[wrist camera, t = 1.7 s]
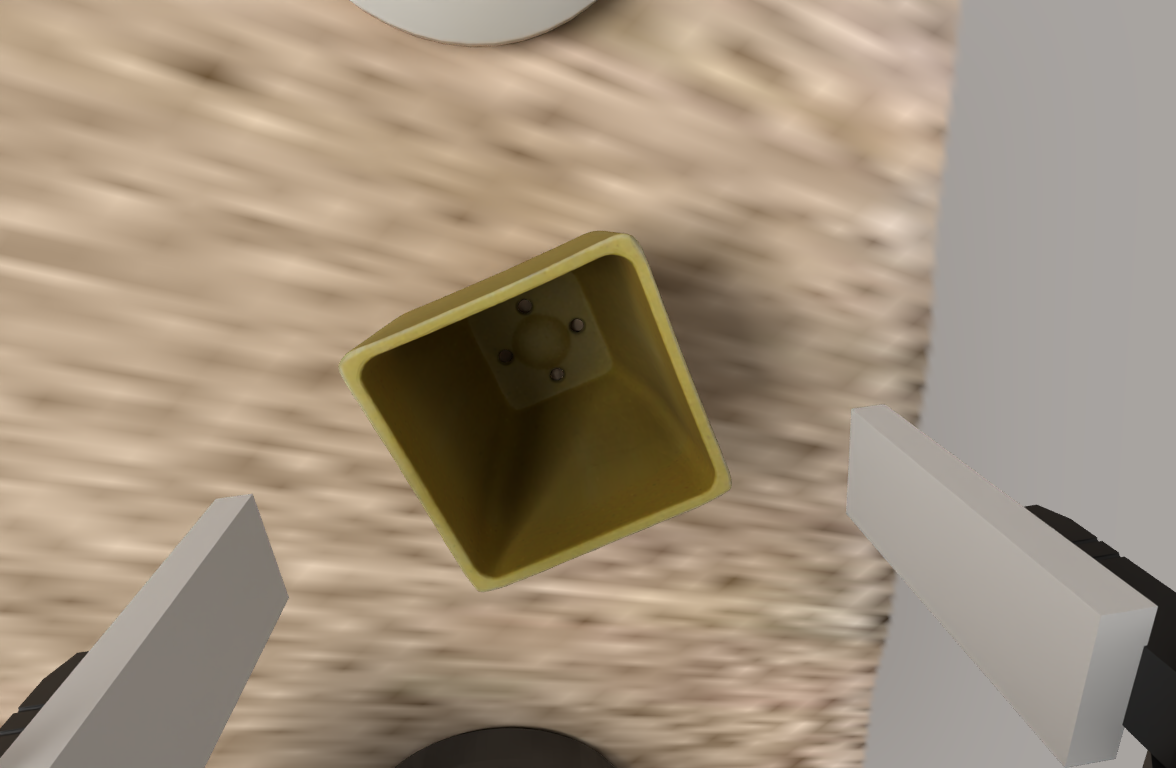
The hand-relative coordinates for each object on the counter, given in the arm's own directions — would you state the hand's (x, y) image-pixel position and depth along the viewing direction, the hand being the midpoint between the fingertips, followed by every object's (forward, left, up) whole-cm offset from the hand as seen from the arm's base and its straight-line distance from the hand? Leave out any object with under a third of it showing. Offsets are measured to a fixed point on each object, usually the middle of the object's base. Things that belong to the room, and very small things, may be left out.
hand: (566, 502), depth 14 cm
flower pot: (0, 0, -14) cm, 14 cm away
